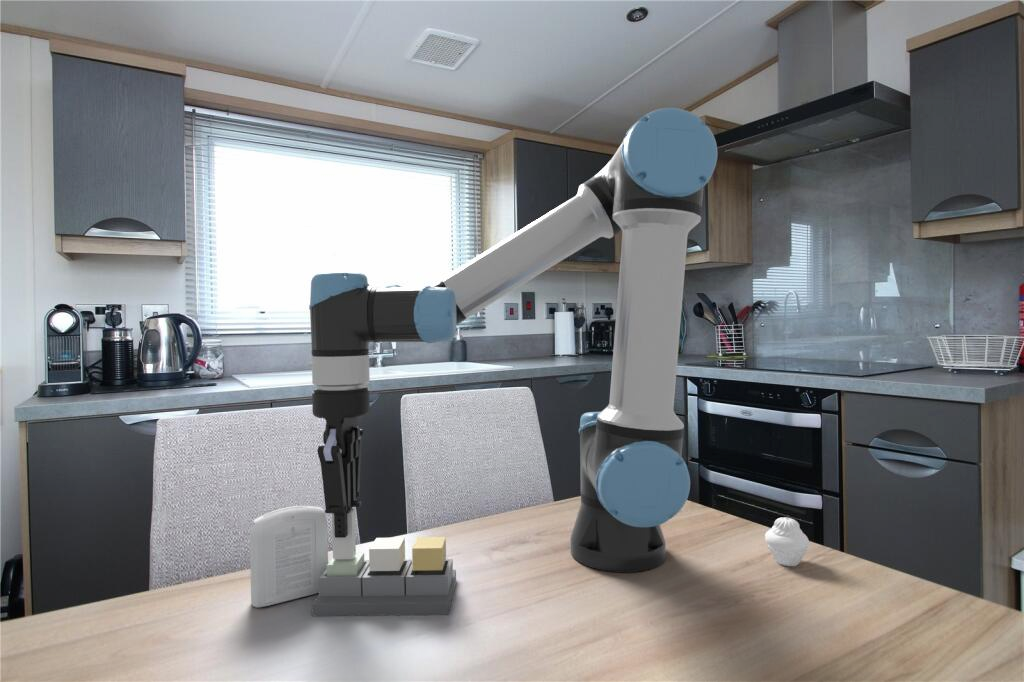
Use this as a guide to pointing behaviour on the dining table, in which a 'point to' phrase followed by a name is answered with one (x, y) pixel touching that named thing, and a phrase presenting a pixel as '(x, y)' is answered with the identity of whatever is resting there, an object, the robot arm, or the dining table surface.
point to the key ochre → (429, 553)
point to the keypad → (387, 592)
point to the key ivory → (387, 554)
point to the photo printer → (287, 554)
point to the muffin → (787, 542)
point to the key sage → (346, 566)
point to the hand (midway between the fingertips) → (344, 556)
